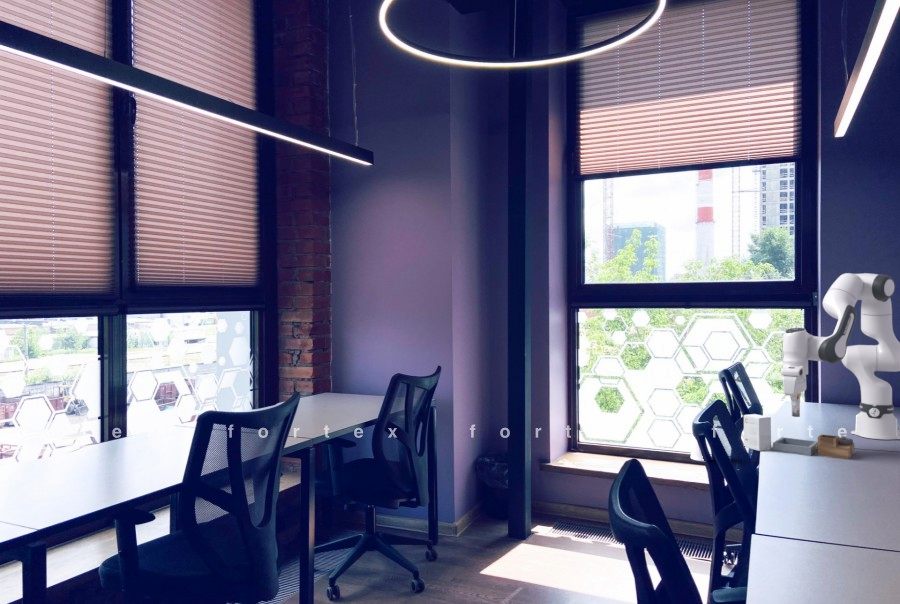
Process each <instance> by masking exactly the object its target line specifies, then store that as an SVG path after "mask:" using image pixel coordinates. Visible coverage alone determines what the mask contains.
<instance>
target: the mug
mask: <svg viewBox="0 0 900 604" xmlns="http://www.w3.org/2000/svg"><path fill="white" fill-rule="evenodd" d="M690 459H691V460H693V461H698V462H705V461H704V459H703V456H702V454H701V451H700V448H699V446H698V443H697V441H696V439H695V437H694V436H693V434H692V429H691V428H690Z"/></svg>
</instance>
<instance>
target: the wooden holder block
mask: <svg viewBox="0 0 900 604" xmlns="http://www.w3.org/2000/svg"><path fill="white" fill-rule="evenodd" d="M817 441H818V450H817V456H821V457H828V458H835V459H836V458H837V459H840V460H841V459H842V460H850V458H851V457H852V456H853V455H854V454H855V442H854V440H853V438H849V437H848V438H847V436H845V435H842V436H838V435H829V434H822V433H821V434H820V435H818V436H817Z"/></svg>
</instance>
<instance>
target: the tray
mask: <svg viewBox="0 0 900 604" xmlns="http://www.w3.org/2000/svg"><path fill="white" fill-rule="evenodd" d="M772 451H773V452H778V451H779V452H780V453H786V454H794V455H801V456H808V457H809V456H810V457H811V456H813V455H814V454H815V453H816V452H818V440H810V439H809V440H808V439H800V438H792V437H784V436H782V437H780V438H778V439H776V440H775V441H774V442H772ZM779 452H778V453H779Z"/></svg>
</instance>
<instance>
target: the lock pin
mask: <svg viewBox="0 0 900 604" xmlns="http://www.w3.org/2000/svg"><path fill="white" fill-rule="evenodd" d="M800 408H801V397H800V393H799V394H797V405H796V406H794V405H791V416H792V417H794V418H799V417H801V412H800V411H801V409H800Z"/></svg>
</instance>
